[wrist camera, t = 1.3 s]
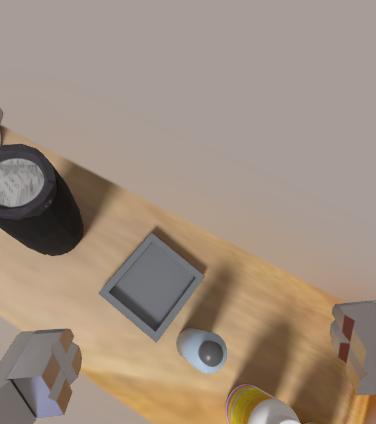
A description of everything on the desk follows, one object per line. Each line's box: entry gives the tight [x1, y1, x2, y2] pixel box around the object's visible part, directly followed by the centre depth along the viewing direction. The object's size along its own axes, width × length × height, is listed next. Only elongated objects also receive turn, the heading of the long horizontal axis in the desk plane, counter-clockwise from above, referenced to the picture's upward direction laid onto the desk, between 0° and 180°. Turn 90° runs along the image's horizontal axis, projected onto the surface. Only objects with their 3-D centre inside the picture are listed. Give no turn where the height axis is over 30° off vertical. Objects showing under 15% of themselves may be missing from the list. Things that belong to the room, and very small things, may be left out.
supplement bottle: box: [226, 384, 301, 424], centre depth 37 cm, size 7×7×13 cm
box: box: [99, 233, 205, 343], centre depth 45 cm, size 11×12×2 cm
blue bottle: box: [176, 328, 227, 373], centre depth 39 cm, size 4×4×12 cm
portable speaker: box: [0, 144, 83, 256], centre depth 37 cm, size 9×9×20 cm
